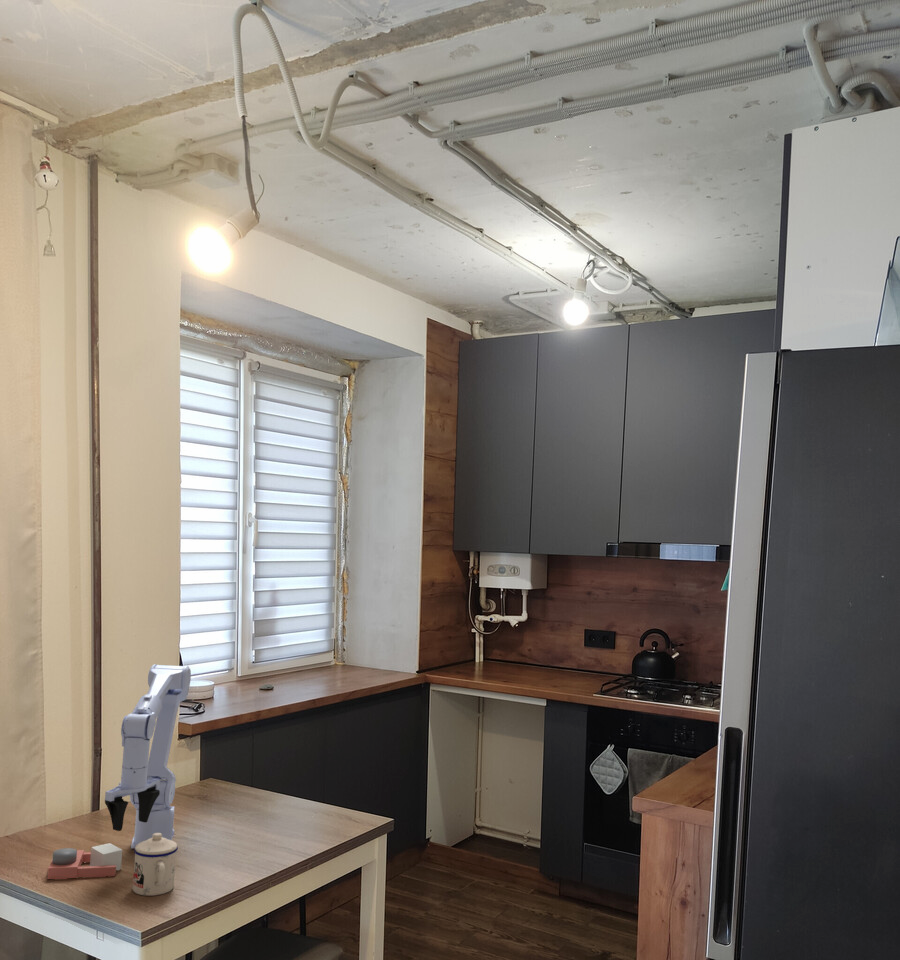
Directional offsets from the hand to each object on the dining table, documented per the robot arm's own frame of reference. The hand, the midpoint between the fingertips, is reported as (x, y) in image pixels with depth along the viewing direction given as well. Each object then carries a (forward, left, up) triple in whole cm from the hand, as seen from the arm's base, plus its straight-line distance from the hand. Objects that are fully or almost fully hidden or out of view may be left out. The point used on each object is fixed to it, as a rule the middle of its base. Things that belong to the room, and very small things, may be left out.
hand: (130, 825), depth 202 cm
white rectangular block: (+5, 0, -10) cm, 11 cm away
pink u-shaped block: (+9, 0, -9) cm, 13 cm away
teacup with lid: (-7, +15, -10) cm, 19 cm away
